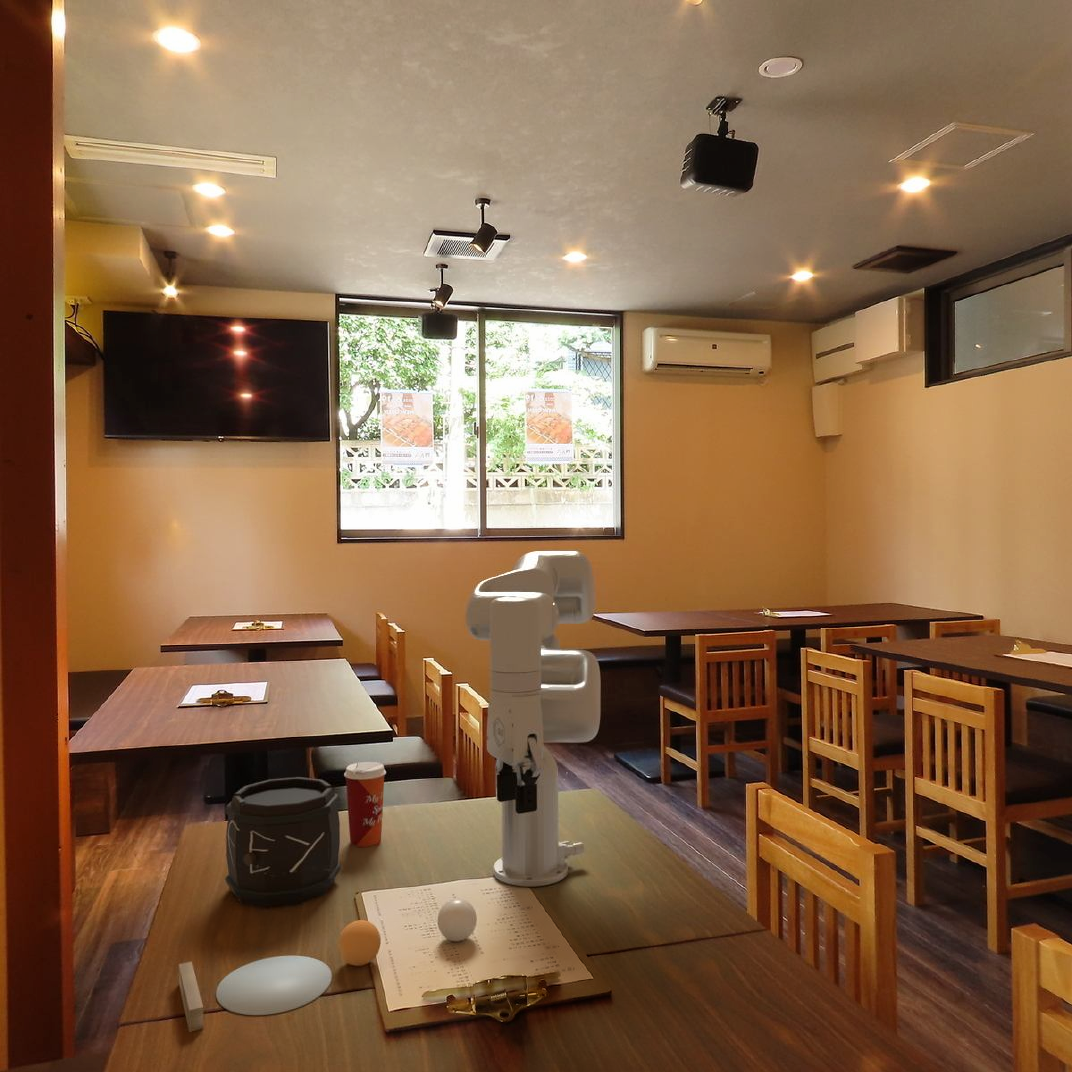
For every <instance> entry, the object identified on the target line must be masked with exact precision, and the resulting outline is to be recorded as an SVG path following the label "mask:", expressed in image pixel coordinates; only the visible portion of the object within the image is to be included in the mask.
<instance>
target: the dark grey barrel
mask: <svg viewBox="0 0 1072 1072" xmlns="http://www.w3.org/2000/svg"><path fill="white" fill-rule="evenodd" d="M340 802H341V798H340V795H338V794H337V793H336V792H335V790H334V787H333V785H331V784H330V783H328V782H327V781H325V780H323V779H319V778H312V777H311V778H309V777H302V776H301V777H300V776H295V777H285V778H273V779H272V778H271V779H270V778H269V779H267V780H263V781H257V782H255V783H251V784H248V785H244V786H243V787H242V788H240V789H239V790H237V791H236V792H235V793H234V794H233V795H232V800H231V801H230V802H229V803H227V804H226V805H225V809H224V813H226V815H227V824H226V831H225V841H226V842H225V843H226V844H225V845H226V846H225V847H226V849H225V850H226V855H225V856H226V862H227V863H226V865H227V870H228V871H227V872H228V875H227V876H226V877H225V878H224V879H225V883H226V885H227V887H229V888H230V890H231V891H232V894H233V895H234V897H235V898H236V897H237V898H236V899H237V900H238V902H239V903H240V904H241V905H246V906H250V905H251V906H250V907H257V908H263V909H273V908H274V909H275V908H282V907H291V906H299V905H303V904H305V903H308V902H309V901H312V900H314V899H317V898H319V897H322V896H324V895H326V894H327V893H328V891H329V890H330V888H331V887H332V885H333V884H334V883H335V881H336V880H335V879H336V877H337V875H338V874H339V873H340V871H341V867H342V865H341V864H340V863H339V855H340V854H339V853H340V845H341V839H340V838H341V837H340V836H341V832H340V831H341V828H340V826H341V825H340V822H341V821H340V816H339V814H340V813H339V807H338V805H339V803H340Z"/></svg>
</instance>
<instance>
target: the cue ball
mask: <svg viewBox="0 0 1072 1072" xmlns="http://www.w3.org/2000/svg"><path fill="white" fill-rule="evenodd" d="M474 907H475V906H473V905H472V904H471V903H470V902H469V901H468V900H466V899H464V898H453V899H449V900H448V901H446V902H445V903H444V904H443V905H442V906H441V908H440V910H439V911H438V913H437V914H438V915H437V926H438V929H439V932H440V933H441V935H442V936H443V937H444V938H445V939H447V940H449V941H451V942H462V941H464V939H465V940H467V939H468V938H469V937H470V936H471V935H472V934H473V933H474V931H475V928H476V927H477V923H478V922H477V921H478V917H477V912H476V909H475V908H474ZM461 940H462V941H461Z"/></svg>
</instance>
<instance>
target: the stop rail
mask: <svg viewBox="0 0 1072 1072" xmlns="http://www.w3.org/2000/svg"><path fill="white" fill-rule="evenodd" d="M195 973H196V972H195V971H194V965H193V962H192V961H188V962H183V963H179V964H178V986H179V991H180V995H181V1000H182V1004H183V1009H184V1013H185V1017H186V1022H187V1023H186V1024H187V1029H188V1032H189V1033H191V1032H195V1031H199V1030H202V1029H203V1030H204V1005H203V1001H202V997H201V994H200V988H199V986H198V985H199V984H198V981H197V978H196V974H195Z"/></svg>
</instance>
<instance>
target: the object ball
mask: <svg viewBox="0 0 1072 1072" xmlns="http://www.w3.org/2000/svg"><path fill="white" fill-rule="evenodd" d="M381 938H382V937H381V933H380V931H379V930H378V928H377V927H376V925H375V924H373V923H372V922H371V921H368V920H365V919H364V920H363V919H359V920H355V921H352V922H350V923H349V924H347V925H346V926H345V927H344V929H342V931H341V934H340V935H339V939H338V951H339V953H340V956H341V958H342V959H343V961H344V962H346V963H347V964H349V965H351V966H354V967H355V966H356V967H359V966H360V967H362V966H365V965H367V964H369V963H371V962H372V961H373V960H374V959H375V958H376V956H377V955H378V953H379V951H380V948H381V944H382V943H381Z"/></svg>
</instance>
